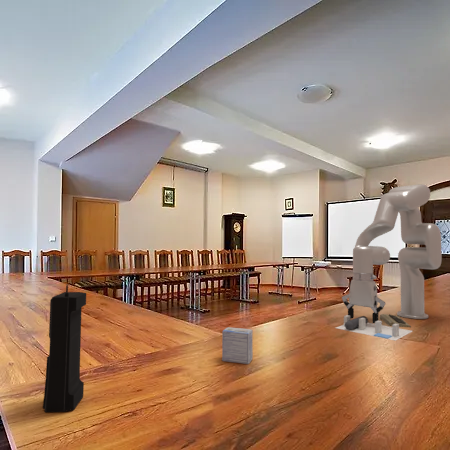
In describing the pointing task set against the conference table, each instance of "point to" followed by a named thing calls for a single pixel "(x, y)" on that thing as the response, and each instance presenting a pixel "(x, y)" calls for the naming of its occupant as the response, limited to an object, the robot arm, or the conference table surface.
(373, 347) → the conference table surface
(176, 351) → the conference table surface
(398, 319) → the computer
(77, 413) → the conference table surface
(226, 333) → the medicine box
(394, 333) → the board
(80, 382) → the portable radio
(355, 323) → the dark grey rounded peg
